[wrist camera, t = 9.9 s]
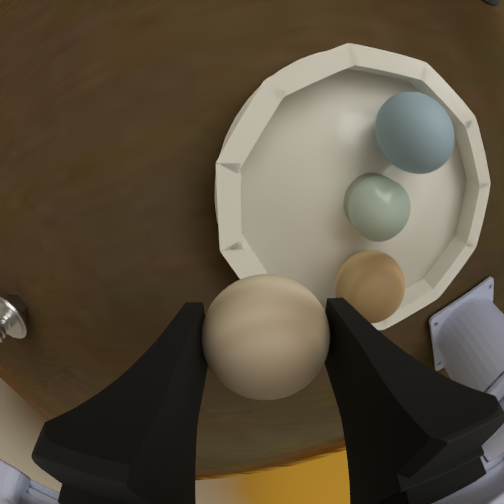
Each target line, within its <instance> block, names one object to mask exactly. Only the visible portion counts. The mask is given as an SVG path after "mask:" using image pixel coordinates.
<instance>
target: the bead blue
mask: <svg viewBox="0 0 504 504" xmlns="http://www.w3.org/2000/svg"><path fill="white" fill-rule="evenodd" d="M375 133H376V138H377V142H378V145H379V147H380V149H381V151H382V152H383V154H384V155H385V157H386V158H387V159H388V160H389V161H390V162H391V163H392V164H393V165H395V166H396V167H398V168H399V169H401V170H403V171H406V172H409V173H413V174H426V173H430V172H433V171H435V170H437V169H439V168H440V167H442V166H443V165H444V164H445V163H446V162H447V160H448V159H449V157H450V155H451V153H452V151H453V147H454V141H455V134H454V128H453V124H452V121H451V119H450V117H449V115H448V113H447V112H446V110H445V109H444V108H443V107H442V106H441V105H440V104H439V103H438V102H437V101H436V100H434V99H433V98H431V97H430V96H428V95H425V94H422V93H419V92H402V93H398V94H396V95H394V96H392V97H390V98H389V99H388V100H387V101H386V102H385V103H384V104H383V105H382V106H381V108H380V110H379V112H378V114H377V118H376V123H375Z"/></svg>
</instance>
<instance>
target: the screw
mask: <svg viewBox="0 0 504 504" xmlns="http://www.w3.org/2000/svg"><path fill="white" fill-rule="evenodd" d="M26 317H27V306H26V305H25V304H24V303H23V301H22V300H21V299H20V298H19V296H17V295H9V296H8V297H7V298H6V297H5V296H3V295H0V342H2V338H5V334H8V335H10V336H12V337H14V338H24V337H25V336H26V334H27V333H28V327H27V323H26V320H25V319H26Z"/></svg>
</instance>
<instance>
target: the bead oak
mask: <svg viewBox="0 0 504 504" xmlns="http://www.w3.org/2000/svg"><path fill="white" fill-rule="evenodd" d="M334 289H335V297H336V298H341V297H343V298H344V299H345V300H346V301H347V302H348V303H350V304H351V305H352V306H353V307H354V308H355V309H356V310H357V311H358V312H359V313H360V314H361V315H362V316H363V317H364V318H365V319H366V320H367V321H369V322H370V323H378V322H381V321H383V320H385V319H387V318H389V317H390V316H391V315H393V314H394V313H395V312H396V310H397V309H398V308H399V306H400V305H401V303H402V300H403V298H404V294H405V278H404V274H403V272H402V269H401V268H400V266H399V264H398V263H397V262H396V261H395V260H394V259H393V258H392V257H391V256H389V255H388V254H386V253H383V252H381V251H377V250H365V251H361V252H358V253H356V254H354V255H352V256H350V257H349V258H348V259H347V260H346V261H345V262H344V263H343V264H342V265H341V267H340V269H339V271H338V273H337V275H336V279H335V286H334Z"/></svg>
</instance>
